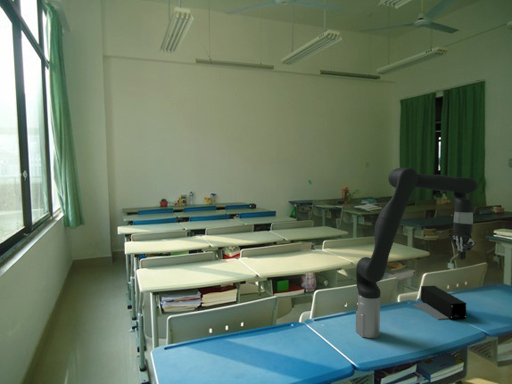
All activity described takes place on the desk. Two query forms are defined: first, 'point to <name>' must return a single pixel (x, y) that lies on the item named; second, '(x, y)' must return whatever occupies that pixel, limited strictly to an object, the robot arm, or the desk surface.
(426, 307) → the rubber mat
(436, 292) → the black rectangular bar
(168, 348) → the desk surface
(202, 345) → the desk surface
